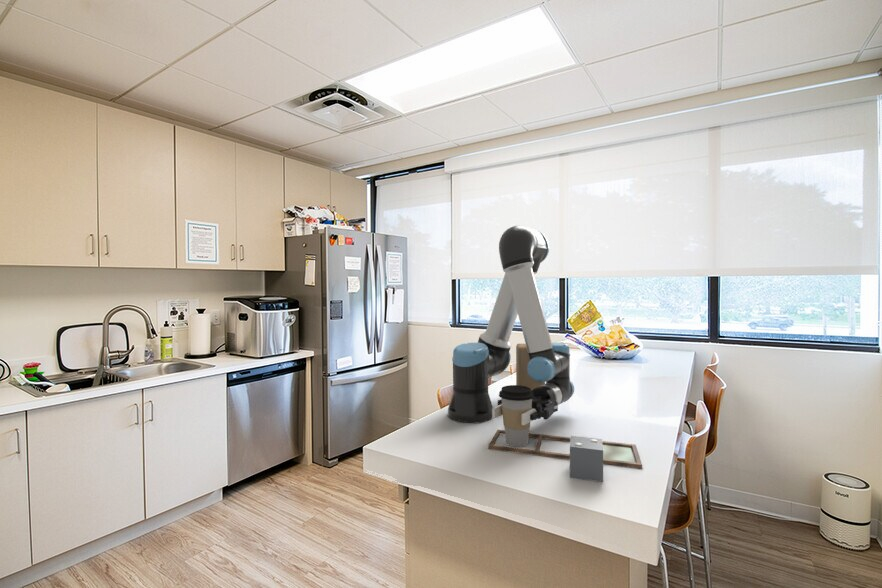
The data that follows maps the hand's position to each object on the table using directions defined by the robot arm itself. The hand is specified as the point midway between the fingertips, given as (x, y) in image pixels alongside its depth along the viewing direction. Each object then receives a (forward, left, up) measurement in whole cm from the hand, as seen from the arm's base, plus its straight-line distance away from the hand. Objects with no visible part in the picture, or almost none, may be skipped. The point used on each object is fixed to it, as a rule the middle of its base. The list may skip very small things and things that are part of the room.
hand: (507, 416), depth 110 cm
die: (+20, -9, -8) cm, 23 cm away
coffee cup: (+2, +4, -9) cm, 10 cm away
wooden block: (0, +52, -9) cm, 53 cm away
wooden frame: (+14, +4, -8) cm, 17 cm away
